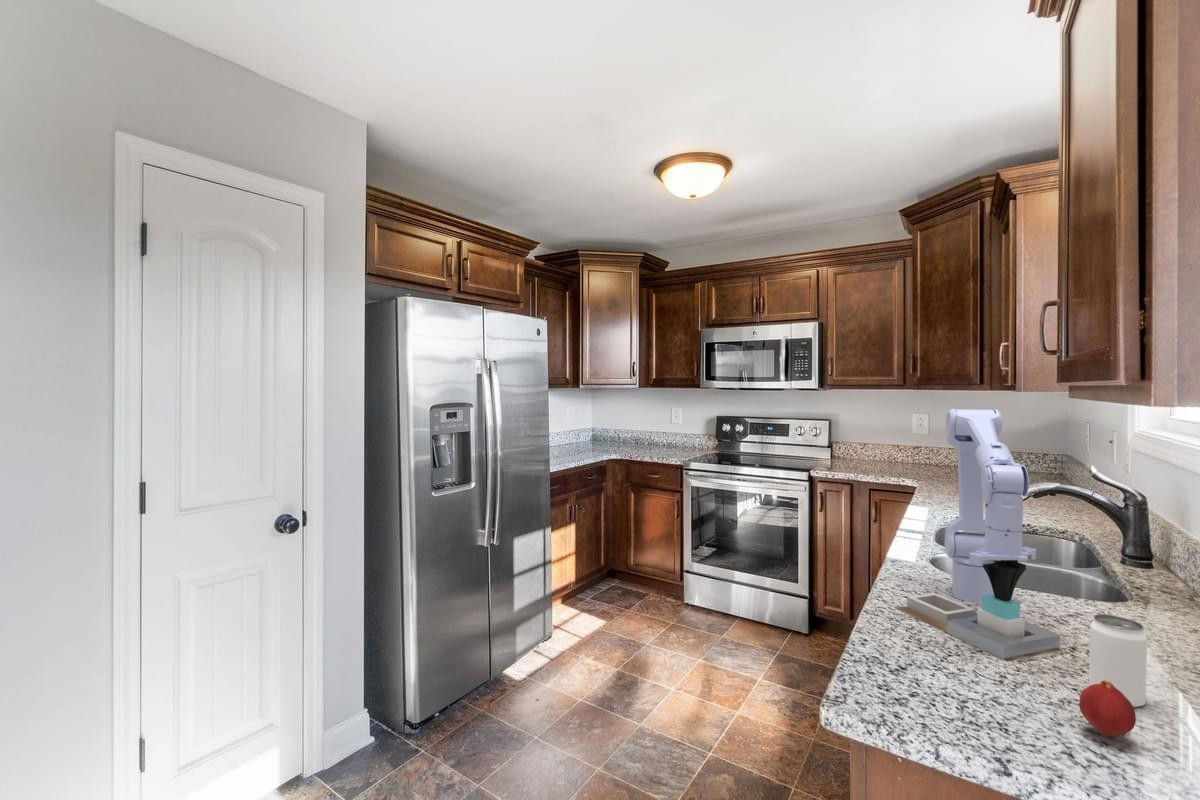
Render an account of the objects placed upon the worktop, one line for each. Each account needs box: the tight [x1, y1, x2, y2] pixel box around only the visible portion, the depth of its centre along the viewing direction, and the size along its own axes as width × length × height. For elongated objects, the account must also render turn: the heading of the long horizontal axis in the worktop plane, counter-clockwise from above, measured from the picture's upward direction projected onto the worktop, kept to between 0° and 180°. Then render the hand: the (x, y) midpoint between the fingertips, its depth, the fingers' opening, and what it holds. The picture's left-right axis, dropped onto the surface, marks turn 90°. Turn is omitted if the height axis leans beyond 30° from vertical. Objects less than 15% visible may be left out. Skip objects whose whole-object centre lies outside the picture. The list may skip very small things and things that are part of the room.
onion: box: [1078, 680, 1137, 738], centre depth 75 cm, size 6×6×8 cm
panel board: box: [895, 605, 1063, 667], centre depth 108 cm, size 14×24×1 cm, turn 17°
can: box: [1088, 613, 1148, 709], centre depth 85 cm, size 6×6×12 cm
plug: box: [976, 593, 1026, 639], centre depth 102 cm, size 4×6×8 cm, turn 17°
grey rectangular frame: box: [906, 592, 977, 625], centre depth 114 cm, size 8×10×2 cm
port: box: [946, 616, 1061, 661], centre depth 102 cm, size 14×11×2 cm
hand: (1002, 599), depth 102 cm, fingers closed, pressing on plug
